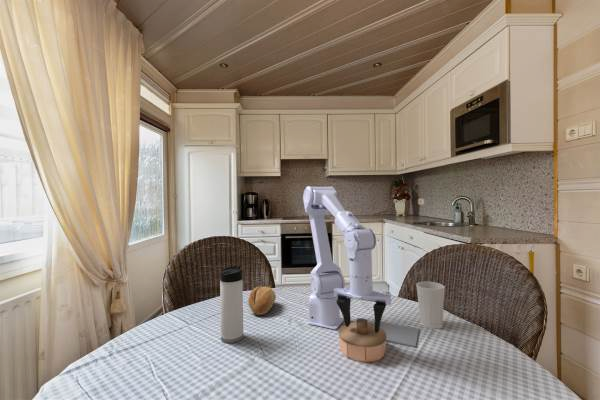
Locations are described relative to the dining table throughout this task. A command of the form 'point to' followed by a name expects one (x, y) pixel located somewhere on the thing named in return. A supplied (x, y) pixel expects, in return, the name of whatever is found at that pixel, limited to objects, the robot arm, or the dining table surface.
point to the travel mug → (231, 304)
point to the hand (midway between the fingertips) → (362, 328)
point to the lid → (362, 334)
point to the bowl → (362, 351)
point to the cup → (431, 304)
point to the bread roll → (261, 300)
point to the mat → (400, 334)
